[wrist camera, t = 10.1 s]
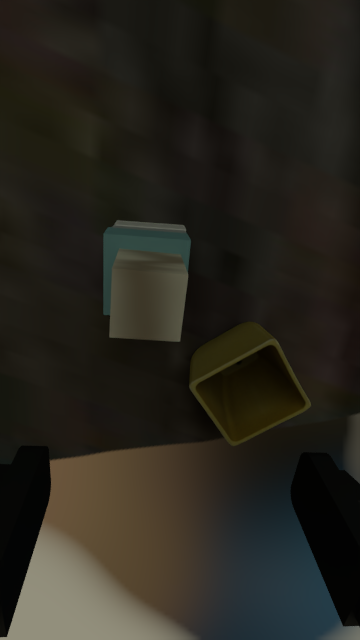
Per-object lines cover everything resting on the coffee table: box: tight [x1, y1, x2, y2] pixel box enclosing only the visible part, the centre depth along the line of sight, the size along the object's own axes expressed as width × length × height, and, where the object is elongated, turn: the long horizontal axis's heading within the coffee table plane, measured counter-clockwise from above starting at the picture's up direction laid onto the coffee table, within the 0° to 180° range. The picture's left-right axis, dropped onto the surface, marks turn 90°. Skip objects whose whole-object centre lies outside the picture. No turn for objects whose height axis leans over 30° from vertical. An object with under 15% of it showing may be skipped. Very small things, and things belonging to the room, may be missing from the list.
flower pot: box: [189, 322, 311, 446], centre depth 35 cm, size 9×9×9 cm
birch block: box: [110, 249, 188, 342], centre depth 24 cm, size 5×5×6 cm
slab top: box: [103, 227, 191, 315], centre depth 28 cm, size 6×6×3 cm
